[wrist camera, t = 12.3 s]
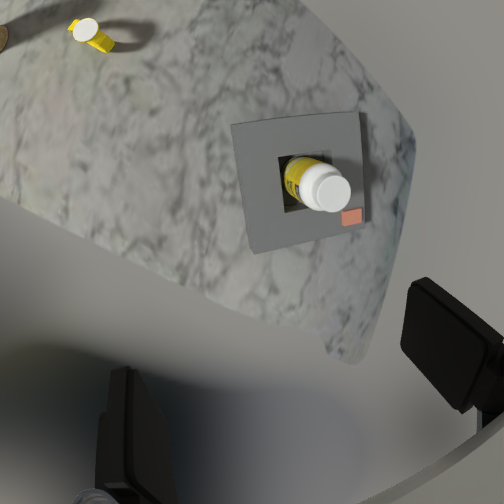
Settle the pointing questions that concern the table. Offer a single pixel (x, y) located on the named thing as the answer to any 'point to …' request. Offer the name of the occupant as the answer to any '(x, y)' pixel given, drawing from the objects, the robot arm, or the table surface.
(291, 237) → the block with square hole
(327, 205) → the supplement bottle
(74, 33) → the watch
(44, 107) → the table surface
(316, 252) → the table surface
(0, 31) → the sprinkles bottle
